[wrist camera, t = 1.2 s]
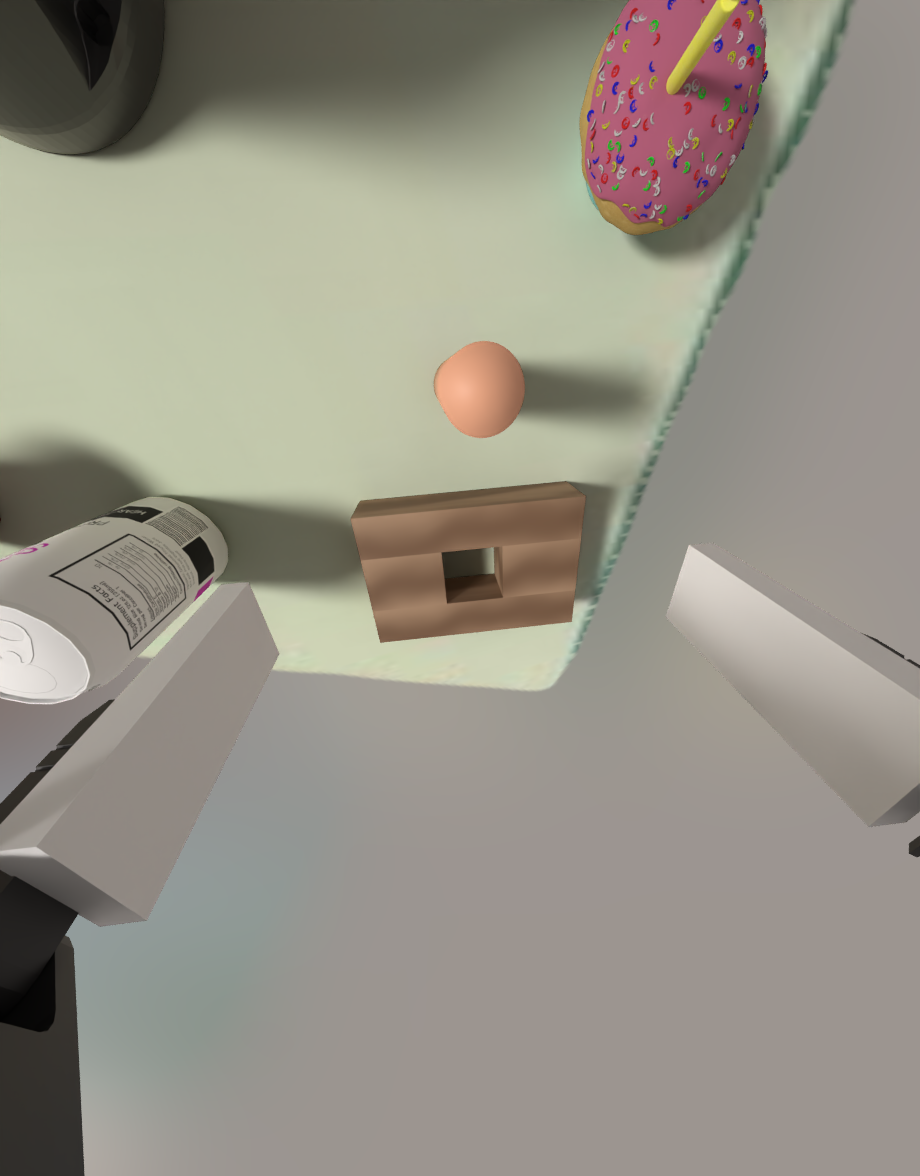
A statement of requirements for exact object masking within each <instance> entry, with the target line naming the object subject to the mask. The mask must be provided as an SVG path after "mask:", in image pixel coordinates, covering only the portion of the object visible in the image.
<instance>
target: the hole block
mask: <svg viewBox="0 0 920 1176" xmlns="http://www.w3.org/2000/svg"><path fill="white" fill-rule="evenodd" d="M585 500H586V496H585V495H584V494H582V493H581V492H580V491H578V490H577V489H576V488H574V487H573V486H572V485H570V484H569V483H568V482H566V481H564V482H554V483H543V484H532V485H522V486H511V487H501V488H490V489H480V490H469V491H459V492H448V493H438V494H427V495H417V496H406V497H395V498H385V499H374V500H364V501H360V502H359V504H358V506H357V508H356V509H355V511H354V513H353V515H352V517H351V523H352V527H353V531H354V535H355V539H356V544H357V548H358V552H359V556H360V560H361V564H362V568H363V573H364V577H365V581H366V585H367V589H368V593H369V597H370V602H371V606H372V610H373V614H374V618H375V622H376V626H377V631H378V635H379V639H380V643H382V642H391V641H400V640H409V639H418V638H428V637H437V636H446V635H455V634H464V633H473V632H483V631H492V630H501V629H510V628H519V627H528V626H538V625H547V624H556V623H565V622H572V614H573V606H574V597H575V588H576V579H577V570H578V562H579V553H580V544H581V535H582V526H583V518H584V509H585ZM490 547H494V568H495V574H487V575H477V576H467V577H458V578H448V579H445V578H444V569H443V560H442V552H451V551H461V550H470V549H480V548H490Z"/></svg>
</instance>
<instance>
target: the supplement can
mask: <svg viewBox="0 0 920 1176" xmlns="http://www.w3.org/2000/svg"><path fill="white" fill-rule="evenodd" d="M227 563H228V547H227V544H226V542H225V540H224V538H223V536H222V533H221V531H220V530H219V529H218V528H217V527H216V526H215V525H214V523H213V522H212V521H211V520H210V519H209V518H208V517H207V516H206V515H204V514H203V513H201V512H200V511H198V510H197V509H195V508H194V507H192V506H191V505H189V504H186V503H183V502H180V501H177V500H175V499H172V498H165V497H147V498H144V499H140V500H137V501H134V502H131V503H129V504H127V505H124V506H122V507H120V508H118V509H115V510H113V511H111V512H108V513H106V514H104V515H101V516H99V517H97V518H94V519H92V520H90V521H87V522H85V523H83V524H80V525H78V526H76V527H73V528H71V529H69V530H66V531H64V532H62V533H59V534H57V535H55V536H53V537H50V538H48V539H46V540H43V541H41V542H39V543H36V544H34V545H32V546H29V547H27V548H25V549H22V550H20V551H18V552H15V553H13V554H11V555H8V556H6V557H4V558H1V559H0V698H2V699H7V700H12V701H17V702H22V703H27V704H55V703H59V702H63V701H67V700H71V699H74V698H75V697H76V696H78V695H79V694H81V693H84V692H87V691H90V690H93V689H96V688H99V687H102V686H104V685H106V684H107V683H109V682H110V681H111V680H112V679H114V678H115V677H116V676H118V675H119V674H120V673H121V672H122V671H123V670H124V669H125V668H126V667H127V666H128V665H129V664H130V663H131V662H132V661H133V660H134V659H135V658H136V657H137V656H138V655H139V654H140V653H141V652H143V651H144V650H145V649H146V648H147V647H148V646H149V645H150V644H151V643H152V642H153V641H154V640H155V639H156V638H157V637H158V636H159V635H160V634H161V633H162V632H163V631H164V630H165V629H166V628H167V627H168V626H169V625H170V624H171V623H172V622H173V621H174V620H175V619H176V618H177V617H178V616H179V615H180V614H182V613H183V612H184V611H185V610H186V609H187V608H188V607H189V606H190V605H191V604H192V603H193V602H194V601H195V600H196V599H197V598H198V597H199V596H200V595H201V594H202V593H203V592H204V591H205V590H206V589H207V588H208V587H209V586H210V585H211V584H212V583H213V582H214V581H215V580H216V579H217V578H218V577H219V576H221V575H222V574H223V572H224V570H225V567H226V565H227Z"/></svg>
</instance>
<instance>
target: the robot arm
mask: <svg viewBox="0 0 920 1176" xmlns="http://www.w3.org/2000/svg"><path fill="white" fill-rule="evenodd" d="M163 37H164V0H0V135H1V136H3V137H5V138H7V139H10V140H12V141H14V142H16V143H19V144H22V145H25V146H28V147H31V148H34V149H38V150H41V151H46V152H52V153H60V154H79V153H87V152H91V151H96V150H99V149H101V148H104V147H106V146H108V145H110V144H112V143H114V142H115V141H117V140H118V139H120V138H121V137H122V136H124V135H125V134H126V133H127V132H128V131H129V130H130V129H131V128H132V127H133V125H134V124H135V123H136V122H137V121H138V119H139V118H140V116H141V115H142V113H143V112H144V110H145V108H146V106H147V104H148V102H149V100H150V97H151V95H152V92H153V90H154V86H155V83H156V80H157V76H158V72H159V68H160V63H161V56H162V49H163ZM666 618H667V619H668V620H669V621H670V622H671V623H672V624H673V625H674V626H675V627H676V628H677V629H678V630H679V631H680V633H681V634H682V635H683V636H684V637H685V638H686V639H687V640H688V641H689V642H690V643H691V644H692V645H693V646H694V647H695V648H696V649H697V650H698V651H699V652H700V653H701V654H702V655H703V656H704V657H705V658H706V659H707V660H708V662H709V663H710V664H711V665H712V666H713V667H714V668H715V669H716V670H717V671H718V672H719V673H720V674H721V675H722V676H723V677H724V678H725V679H726V680H727V681H728V682H729V683H730V684H731V685H732V686H733V687H734V688H735V689H736V691H738V693H739V694H741V696H742V697H743V698H744V699H745V700H746V701H747V702H748V703H749V704H750V705H751V706H752V707H753V708H754V709H755V710H756V711H757V712H758V713H759V714H760V715H761V716H762V717H763V718H764V719H765V720H766V721H767V722H768V724H769V725H770V726H771V727H772V728H773V729H774V730H775V731H776V732H777V733H778V734H779V735H780V736H781V737H782V738H783V739H784V740H785V741H786V742H787V743H788V744H789V745H790V746H791V747H792V748H793V749H794V751H795V752H797V754H798V755H799V756H800V757H801V758H802V759H803V760H804V761H806V763H807V764H808V765H809V766H810V767H811V768H812V769H813V770H814V771H815V772H816V773H817V774H818V775H819V776H820V777H821V778H822V779H823V781H825V783H826V784H827V785H828V786H829V787H830V788H831V789H832V790H833V791H834V792H835V793H836V794H837V795H838V796H839V797H840V798H841V799H842V800H843V801H844V802H845V803H846V804H847V805H848V806H849V807H850V808H851V809H852V811H854V812H855V813H856V815H857V816H858V817H859V818H860V819H861V820H862V821H863V822H864V823H865V824H866V825H867V826H868V827H873V826H880V825H888V824H896V823H904V822H907V821H908V820H910V819H911V818H912V817H913V816H915V815H916V814H917V813H918V812H919V811H920V665H918V664H917V663H915V662H913V661H912V660H910V659H909V660H906V659H905V658H904V655H902V654H900V653H898V652H897V651H895V650H894V649H892V648H890V647H889V646H887V645H885V644H883V643H882V642H880V641H879V640H877V639H875V638H872V637H870V636H868V635H865V634H863V633H861V632H859V631H857V630H856V629H854V628H852V627H851V626H849V625H847V624H846V623H844V622H842V621H841V620H839V619H837V618H836V617H834V616H833V615H831V614H829V613H828V612H826V611H824V610H823V609H821V608H819V607H818V606H816V605H814V604H813V603H811V602H809V601H808V600H806V599H805V598H803V597H801V596H800V595H798V594H796V593H795V592H793V591H791V590H790V589H788V588H787V587H785V586H783V585H782V584H780V583H778V582H777V581H775V580H773V579H772V578H770V577H769V576H767V575H765V574H764V573H762V572H760V571H759V570H757V569H755V568H754V567H752V566H750V565H749V564H747V563H746V562H744V561H742V560H740V559H739V558H737V557H736V556H734V555H732V554H731V553H729V552H727V551H726V550H724V549H722V548H721V547H719V546H717V545H716V544H714V543H706V544H694V545H689V547H688V550H687V553H686V556H685V559H684V562H683V565H682V568H681V571H680V574H679V578H678V581H677V584H676V587H675V590H674V593H673V596H672V599H671V602H670V605H669V608H668V611H667V614H666ZM278 655H279V652H278V649H277V647H276V645H275V642H274V640H273V638H272V635H271V633H270V631H269V628H268V626H267V624H266V621H265V619H264V617H263V614H262V612H261V610H260V607H259V605H258V603H257V600H256V598H255V596H254V593H253V591H252V589H251V586H250V584H249V582H244V583H232V584H221V585H220V586H219V587H218V588H217V590H216V591H215V592H214V593H213V594H212V595H211V596H210V597H209V598H208V599H207V600H206V602H205V603H204V604H203V605H202V606H201V607H200V608H199V609H198V610H197V611H196V612H195V613H194V615H193V616H192V617H191V618H190V619H189V620H188V621H187V622H186V623H185V624H184V625H183V626H182V628H181V629H180V630H179V631H178V632H177V633H176V634H175V635H174V636H173V637H172V638H171V640H170V641H169V642H168V643H167V644H166V645H165V646H164V647H163V648H162V649H161V650H160V651H159V653H158V654H157V655H156V656H155V657H154V658H153V659H152V660H151V661H150V663H148V665H147V666H146V667H145V668H144V669H143V670H142V671H141V672H140V673H139V674H138V675H137V677H136V678H135V679H134V680H133V681H132V682H131V683H130V684H129V685H128V686H127V687H126V688H125V690H124V691H123V692H122V693H121V694H120V695H119V696H118V697H117V698H116V699H114V700H109V701H107V702H106V703H105V704H103V705H102V706H101V707H99V708H98V709H96V710H95V711H93V712H92V713H91V714H89V715H88V716H87V717H85V718H84V719H82V720H81V721H80V722H79V723H78V724H77V725H76V726H75V727H74V728H73V729H72V730H71V731H70V732H69V733H68V734H67V735H66V736H65V737H64V738H63V739H62V740H61V741H60V743H59V744H58V745H57V749H56V750H54V751H51V752H50V753H49V754H48V755H47V756H46V757H45V758H44V759H43V760H42V761H41V762H40V763H39V764H38V765H37V766H36V771H35V772H31V773H30V774H29V775H28V776H27V777H26V778H25V779H24V780H23V781H22V782H21V783H20V784H19V785H18V786H17V787H16V788H15V789H14V790H13V791H12V792H11V794H9V795H8V796H7V797H6V798H5V800H4V801H3V802H2V803H1V804H0V1176H84V1159H83V1158H84V1157H83V1136H82V1116H81V1115H82V1114H81V1093H80V1072H79V1052H78V1031H77V1008H76V988H75V966H74V948H73V946H72V943H71V941H70V938H69V937H67V936H65V934H66V933H67V931H68V929H69V928H70V926H71V925H72V923H73V921H74V920H75V918H76V917H77V915H78V914H79V915H80V916H82V917H84V918H86V919H88V920H89V921H91V922H93V923H94V924H96V925H98V926H100V927H101V926H108V925H116V924H124V923H131V922H139V921H146V920H147V919H148V917H149V915H150V913H151V911H152V909H153V907H154V905H155V903H156V901H157V899H158V897H159V894H160V893H161V891H162V889H163V887H164V885H165V883H166V881H167V879H168V877H169V875H170V873H171V871H172V869H173V867H174V865H175V863H176V861H177V859H178V857H179V855H180V853H181V851H182V849H183V847H184V845H185V843H186V840H187V838H188V837H189V835H190V832H191V831H192V829H193V827H194V825H195V822H196V820H197V818H198V816H199V814H200V812H201V810H202V808H203V806H204V804H205V802H206V800H207V798H208V796H209V794H210V792H211V790H212V788H213V786H214V784H215V782H216V780H217V778H218V776H219V774H220V772H221V770H222V768H223V766H224V764H225V762H226V760H227V758H228V756H229V754H230V752H231V750H232V748H233V746H234V744H235V742H236V740H237V738H238V736H239V734H240V732H241V730H242V728H243V726H244V724H245V722H246V720H247V718H248V716H249V714H250V712H251V710H252V708H253V706H254V704H255V702H256V700H257V698H258V696H259V694H260V692H261V690H262V688H263V685H264V684H265V682H266V680H267V677H268V676H269V674H270V672H271V670H272V668H273V666H274V664H275V662H276V660H277V657H278ZM909 854H911V855H913V856H915V857H919V856H920V836H919V837H917V838H916V839H914V840H913V841H912V842H910V843H909Z"/></svg>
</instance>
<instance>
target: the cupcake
mask: <svg viewBox="0 0 920 1176" xmlns="http://www.w3.org/2000/svg"><path fill="white" fill-rule="evenodd" d="M759 1H760V0H629V2H628V3H627V4H626V6H625V7H624V9H623V10H622V12H621V14H620V16H619V18H618V20H617V22H616V24H615V26H614V27H613V29H612V30H611V32H610V34H609V35H608V37H607V39H606V41H605V43H604V44H603V46H602V48H601V50H600V53H599V55H598V57H597V59H596V61H595V64H594V66H593V69H592V72H591V75H590V79H589V83H588V87H587V91H586V94H585V98H584V102H583V106H582V110H581V115H580V136H581V146H582V172H583V175H584V178H585V180H586V185H587V189H588V193H589V196H590V198H591V200H592V202H593V204H594V205H595V207H596V208H597V209H598V210H599V211H600V213H601V215H602V217H603V218H604V219H605V220H606V221H608V222H609V223H611V224H613V225H614V226H616V227H617V228H619V229H620V230H622V231H623V232H625V233H627V234H630V235H642V234H648V233H653V232H655V231H659V230H665V229H669V228H672V227H674V226H675V225H677V224H678V223H679V222H681V221H682V220H683V219H684V220H685V219H687V218H688V216H689V215H690V214H692V213H693V212H694V211H695V210H697V209H698V208H699V207H700V206H701V205H702V204H703V203H704V202H705V201H706V200H707V199H708V198H709V197H710V196H711V195H712V194H713V193H714V192H715V191H716V189H717V188H718V187H719V185H722V183H723V182H724V180H725V177H726V175H727V173H728V171H729V170H730V168H731V166H732V165H733V163H734V162H735V160H736V158H737V157H738V155H739V153H740V151H741V149H742V150H743V149H744V143H745V140H746V138H747V135H748V133H749V130H750V129H751V128H752V125H753V123H754V115H755V114H756V112H757V110H758V107H759V103H758V99H759V95H760V93H761V90H762V83H763V82H764V81H765V79H766V77H767V75H768V71H765V70H766V66H767V63H765V64H764V61H765V47H766V41H765V38H766V36H767V28H766V18H765V17H762V6H761V5H759ZM764 67H765V68H764ZM765 74H766V75H765ZM764 75H765V77H764ZM763 78H764V79H763Z"/></svg>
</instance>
